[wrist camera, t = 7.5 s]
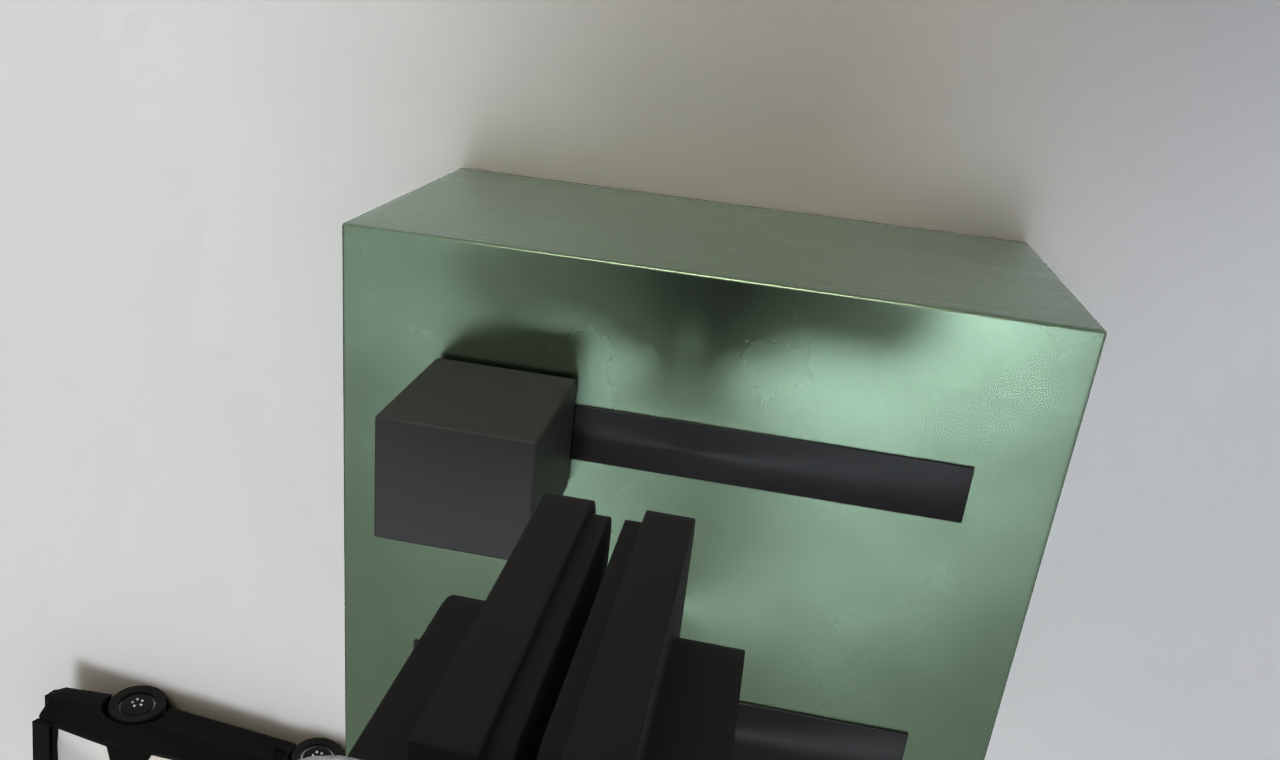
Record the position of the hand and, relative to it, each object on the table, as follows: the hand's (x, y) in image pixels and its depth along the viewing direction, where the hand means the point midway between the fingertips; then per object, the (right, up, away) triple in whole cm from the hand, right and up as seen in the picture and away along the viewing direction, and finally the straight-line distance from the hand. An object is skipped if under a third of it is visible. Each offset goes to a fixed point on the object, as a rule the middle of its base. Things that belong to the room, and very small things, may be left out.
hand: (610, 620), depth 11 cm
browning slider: (-2, +2, +6) cm, 6 cm away
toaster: (+2, +1, +12) cm, 12 cm away
